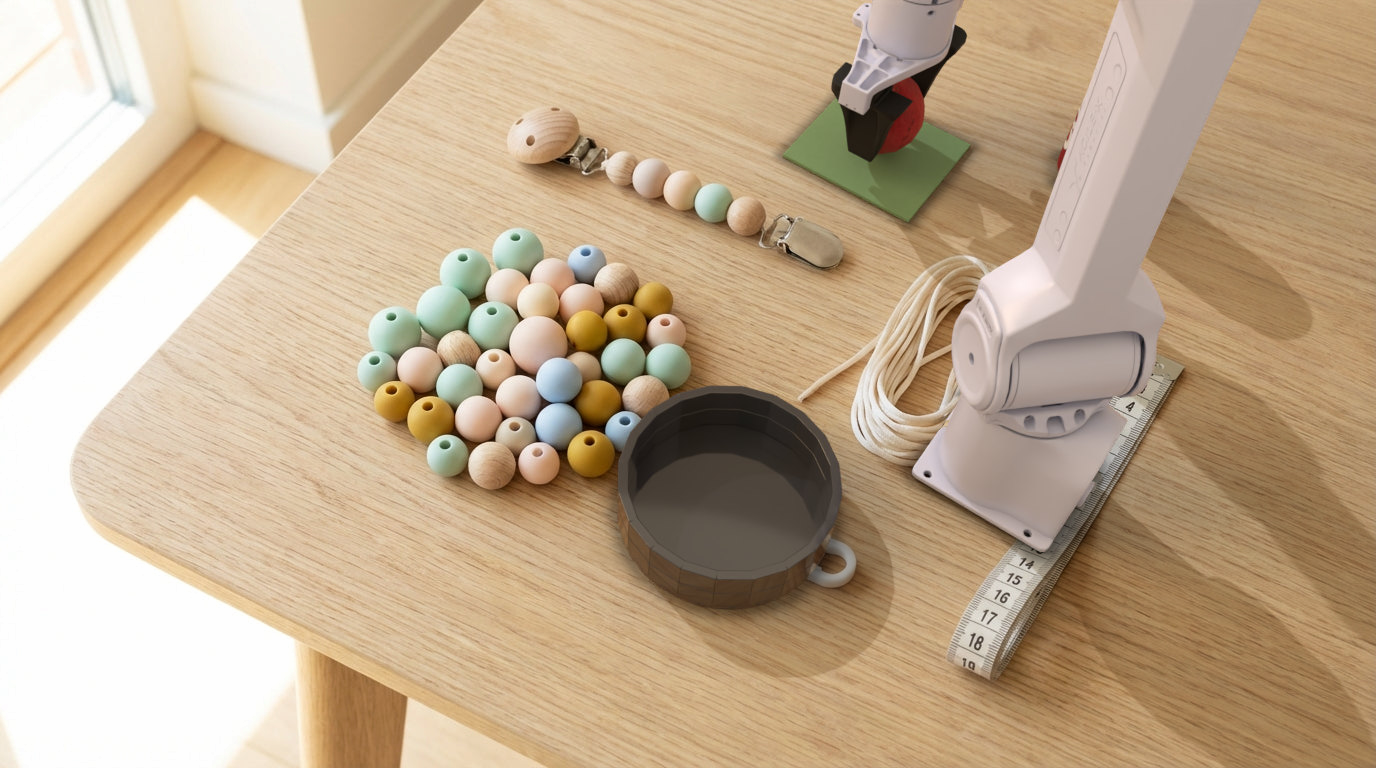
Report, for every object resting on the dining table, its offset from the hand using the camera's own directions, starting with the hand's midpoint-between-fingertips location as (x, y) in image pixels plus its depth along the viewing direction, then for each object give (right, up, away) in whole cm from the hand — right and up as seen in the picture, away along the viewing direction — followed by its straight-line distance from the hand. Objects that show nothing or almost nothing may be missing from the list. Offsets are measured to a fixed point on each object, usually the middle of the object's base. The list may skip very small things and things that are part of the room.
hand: (882, 129), depth 92 cm
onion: (0, -1, +2) cm, 2 cm away
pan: (-12, -27, -17) cm, 34 cm away
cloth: (0, -1, +2) cm, 2 cm away
